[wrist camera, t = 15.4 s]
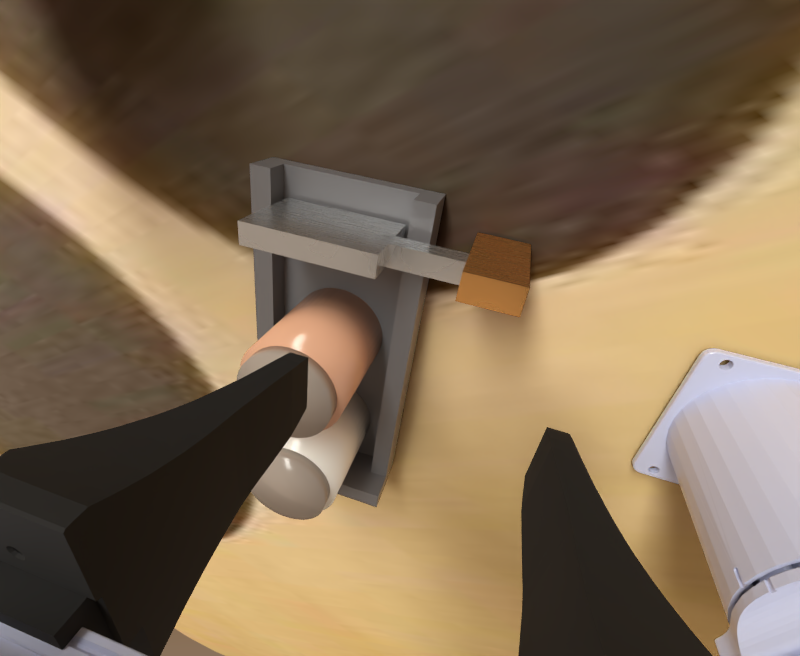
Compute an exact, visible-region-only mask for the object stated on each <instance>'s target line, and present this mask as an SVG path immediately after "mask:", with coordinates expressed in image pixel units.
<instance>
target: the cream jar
mask: <svg viewBox="0 0 800 656" xmlns="http://www.w3.org/2000/svg"><path fill="white" fill-rule="evenodd" d="M369 426H370V413H369V410H368V408H367V405H366V404H365V402H364V401H363V399H362V398H361V397H360V396H359V395H358V394H357V393H356V392H355V393H354V394H353V396H352V398H351V399H350V401H349V403H348V404H347V406H346V408H345V409H344V411H343V413H342V414H341V416H340V418H339V419H338V421H337V422H336V423H335V424H334V425H333V426H331V427H329V428H328V429H325V430H323V431H321V432H320V433H318V434H317V435H314V436H311V437H307V438H294V437H290V438H289V440H288V441H287V443H286V444H285V445H284V447H283V448H282V450H281V451H280V452H279V454H278V455H277V456H276V458H275V459H274V461H273V462H272V463H271V465H270V466H269V467H268V469H267V470H266V471H265V473H264V474H263V476H262V477H261V478H260V480H259V481H258V482H257V484H256V485H255V487H254V488H253V489H252V491H251V492H252V494H253V495H254V496H255V497H256V498H257V499H258V500H259V501H260V502H261V503H262V504H263V505H265V506H266V507H268V508H269V509H271V510H272V511H274V512H276V513H278V514H280V515H283V516H286V517H289V518H293V519H301V520H304V519H311V518H314V517H316V516H318V515H319V514H320V513H321V512H322V510H324V509H326V508H328V507H329V506H330V505H331V504H332V503H333V501H334V499H335V497H336V495H337V493H338V491H339V489H340V487H341V485H342V483H343V481H344V479H345V477H346V475H347V472H348V470H349V468H350V466H351V464H352V462H353V460H354V458H355V456H356V454H357V452H358V450H359V448H360V446H361V443H362V441H363V439H364V437H365V435H366V433H367V431H368V429H369Z"/></svg>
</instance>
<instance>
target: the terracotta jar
mask: <svg viewBox="0 0 800 656" xmlns="http://www.w3.org/2000/svg"><path fill="white" fill-rule="evenodd" d="M381 344H382V330H381V326H380V323H379V320H378V318H377V316H376V315H375V313H374V312H373V310H372V309H371V308H370V307H369V306H368V304H367V303H365V302H364V301H363V300H362V299H361V298H359V297H358V296H356V295H354V294H352V293H350V292H348V291H346V290H342V289H337V288H323V289H319V290H316V291H314V292H312V293H310V294H309V295H307V296H306V297H305V298H304V299H303V300H302V301H301V302H300V303H299V304H298V305H296V306H295V307H294V308H293V309H292V310H291V311H290V312H289V313H288V314H287V315H285V316H284V317H283V318H282V319H281V320H280V321H279V322H278V323H277V324H276V325H274V326H273V327H272V328H271V329H270V330H269V331H268V332H267V333H266V334H265V335H263V336H262V337H261V338H260V339H259V340H258V341H257V342H256V343H255V344H254V345H253V346H251V347H250V348H249V349H248V350H247V351H246V353H245V354H244V356H243V358H242V361H241V365H240V370H239V372H238V375H237V380H239V379H241V378H243V377H245V376H247V375H248V374H250V373H252V372H254V371H256V370H258V369H260V368H262V367H263V366H265V365H267V364H269V363H271V362H273V361H274V360H276V359H278V358H280V357H282V356H284V355H286V354H288V353H290V352H291V353H295V354H298V355H302V356H305V357H308V388H307V408H306V410H305V412H304V414H303V416H302V418H301V419H300V421H299V423H298V425H297V427H296V429H295V430H294V432H293V434H292V436H291V437H294V438H307V437H311V436H314V435H317V434H318V433H320V432H321V431H323V430H325V429H328V428H329V427H331V426H333V425H334V424H335V423H336V422H337V421H338V419H339V418H340V416H341V414H342V413H343V411H344V409H345V408H346V406H347V404H348V403H349V401H350V399H351V398H352V396H353V394H354V393H355V391H356V389H357V388H358V386H359V384H360V383H361V381H362V379H363V378H364V376H365V374H366V373H367V371H368V369H369V368H370V366H371V364H372V363H373V361H374V359H375V357H376V356H377V354H378V352H379V350H380V348H381Z"/></svg>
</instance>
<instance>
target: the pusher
mask: <svg viewBox="0 0 800 656" xmlns="http://www.w3.org/2000/svg"><path fill="white" fill-rule="evenodd" d="M405 227H406V225H405V224H401V223H396V222H392V221H388V220H383V219H379V218H375V217H370V216H366V215H362V214H357V213H353V212H349V211H344V210H340V209H336V208H331V207H327V206H323V205H318V204H314V203H310V202H305V201H301V200H297V199H292V198H285V199H283V200H281V201H279V202H277V203H275V204H272V205H270V206H268V207H266V208H264V209H262V210H259V211H257V212H255V213H253V214H251V215H249V216H246V217H244V218H242V219H240V220H238V235H239V245H242V246H246V247H250V248H254V249H258V250H262V251H266V252H270V253H274V254H278V255H282V256H285V257H289V258H293V259H297V260H301V261H305V262H309V263H313V264H317V265H321V266H325V267H329V268H333V269H337V270H341V271H344V272H348V273H352V274H356V275H360V276H364V277H368V278H372V279H376V278H377V276H378V275H379V274H380V273H381V272H382V270H383V269H384V268H385V267H387V268H391V269H396V270H400V271H404V272H408V273H412V274H416V275H420V276H424V277H428V278H432V279H436V280H440V281H444V282H448V283H452V284H456V285H459V288H458V293H457V297H456V301H458V302H461V303H465V304H469V305H473V306H477V307H481V308H485V309H489V310H493V311H497V312H501V313H505V314H509V315H513V316H516V317H520V315H521V312H522V309H523V306H524V303H525V300H526V297H527V294H528V291H529V289H530V261H531V244H527V243H523V242H518V241H514V240H510V239H505V238H501V237H496V236H492V235H488V234H483V233H479V232H478V233H477V236H476V238H475V241H474V244H473V246H472V249H471V251H470V254H469V253H465V252H461V251H456V250H452V249H448V248H444V247H439V246H435V245H431V244H427V243H422V242H418V241H414V240H410V239H405V238H404V234H405Z"/></svg>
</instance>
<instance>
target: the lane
mask: <svg viewBox="0 0 800 656" xmlns="http://www.w3.org/2000/svg"><path fill="white" fill-rule="evenodd" d="M250 184H251V206H252V214H253V213H255V212H257V211H259V210H262V209H264V208H266V207H268V206H270V205H272V204H275V203H277V202H279V201H281V200H283V199H285V198H292V199H297V200H301V201H305V202H310V203H314V204H318V205H323V206H327V207H331V208H336V209H340V210H344V211H349V212H353V213H357V214H362V215H366V216H370V217H375V218H379V219H383V220H388V221H392V222H396V223H401V224H405V225H406V227H405V234H404V238H405V239H410V240H414V241H418V242H422V243H427V244H431V245H435V246H436V241H437V236H438V231H439V226H440V221H441V216H442V210H443V205H444V200H445V195H446V194H443V193H438V192H433V191H429V190H424V189H419V188H415V187H410V186H405V185H401V184H396V183H391V182H387V181H382V180H377V179H373V178H368V177H364V176H359V175H354V174H350V173H345V172H340V171H336V170H331V169H326V168H322V167H317V166H312V165H308V164H303V163H298V162H294V161H289V160H285V159H280V158H275V157H272V158H268V159H264V160H261V161H257V162H254V163H250ZM253 250H254V272H255V294H256V316H257V338H258V340H259V339H260V338H261V337H262V336H263V335H265V334H266V333H267V332H268V331H269V330H270V329H271V328H272V327H273V326H274V325H276V324H277V323H278V322H279V321H280V320H281V319H282V318H283V317H284V316H285V315H287V314H288V313H289V312H290V311H291V310H292V309H293V308H294V307H295V306H296V305H298V304H299V303H300V302H301V301H302V300H303V299H304V298H305V297H306V296H307V295H309V294H310V293H312V292H314V291H316V290H319V289H323V288H337V289H342V290H346V291H348V292H350V293H352V294H354V295H356V296H358V297H359V298H361V299H362V300H363V301H364V302H365V303H367V304H368V306H369V307H370V308H371V309H372V310H373V312H374V313H375V315H376V316H377V318H378V320H379V323H380V326H381V330H382V344H381V348H380V350H379V352H378V354H377V356H376V357H375V359H374V361H373V363H372V364H371V366H370V368H369V369H368V371H367V373H366V374H365V376H364V378H363V379H362V381H361V383H360V384H359V386H358V388H357V389H356V391H355V392H356V393H357V394H358V395H359V396H360V397H361V398H362V399H363V401H364V402H365V404H366V405H367V408H368V410H369V413H370V426H369V429H368V431H367V433H366V435H365V437H364V439H363V441H362V443H361V446H360V448H359V450H358V452H357V454H356V456H355V458H354V460H353V462H352V464H351V466H350V468H349V470H348V472H347V475H346V477H345V479H344V481H343V483H342V485H341V487H340V489H339V491H338V493H337V494H340V495H343V496H346V497H349V498H351V499H354V500H357V501H360V502H363V503H366V504H369V505H372V506H375V507H377V505H378V502H379V499H380V497H381V494H382V491H383V489H384V486H385V483H386V481H387V478H388V475H389V473H390V470H391V467H392V465H393V461H394V455H395V450H396V445H397V440H398V435H399V430H400V425H401V420H402V415H403V410H404V404H405V399H406V394H407V389H408V384H409V379H410V374H411V369H412V364H413V358H414V353H415V348H416V343H417V338H418V333H419V328H420V323H421V318H422V313H423V307H424V302H425V297H426V292H427V287H428V282H429V278H428V277H424V276H420V275H416V274H412V273H408V272H404V271H400V270H396V269H391V268H387V267H385V268H384V269H383V270H382V272H381V273H380V274H379V275H378V276H377V278H376V279H372V278H368V277H364V276H360V275H356V274H352V273H348V272H344V271H341V270H337V269H333V268H329V267H325V266H321V265H317V264H313V263H309V262H305V261H301V260H297V259H293V258H289V257H285V256H282V255H278V254H274V253H270V252H266V251H262V250H258V249H254V248H253Z"/></svg>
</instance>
